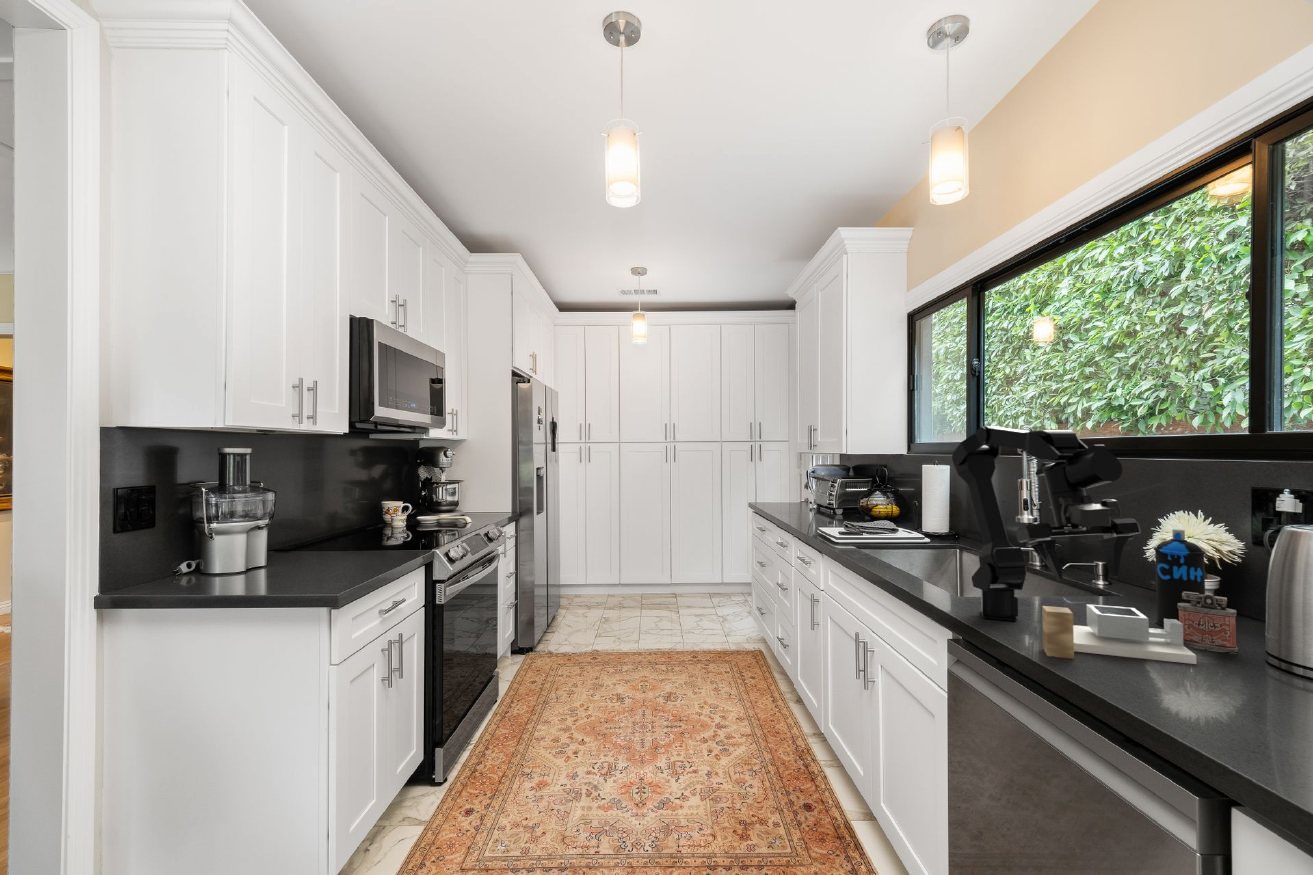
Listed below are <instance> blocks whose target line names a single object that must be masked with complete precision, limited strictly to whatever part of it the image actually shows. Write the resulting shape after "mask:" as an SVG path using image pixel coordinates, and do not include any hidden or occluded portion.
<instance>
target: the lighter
mask: <svg viewBox="0 0 1313 875" xmlns="http://www.w3.org/2000/svg"><path fill="white" fill-rule="evenodd" d="M1182 598H1183V599H1189V600H1192V601H1191V604H1188V603H1178V608H1179V622H1181V623H1182V624H1183V646H1184V647H1189V648H1194V649H1199V650H1200V649H1201V650H1205V649H1207V650H1206V651H1211V652H1212V651H1213V652H1220V653H1225V652H1230V653H1229V654H1235V653H1234V652H1239V650H1238V647H1237V633H1236V632H1237V631H1236V629H1237V628H1236V627H1237V626H1236V616H1237V610H1236V609H1232V608H1227V604H1228V598H1227V597H1226V596H1225V597H1223V596H1217V595H1215V596H1214V594H1212V593H1209V592H1205V594H1204V595H1200V594H1199V593H1192V592H1184V593H1182ZM1196 600H1197V601H1202V602H1201V603H1200V605H1198V604H1197V601H1196ZM1218 604H1219V605H1218ZM1231 652H1232V653H1231Z"/></svg>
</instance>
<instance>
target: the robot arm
mask: <svg viewBox="0 0 1313 875" xmlns="http://www.w3.org/2000/svg"><path fill="white" fill-rule="evenodd" d="M988 444H989V445H988ZM987 445H988V446H987ZM1002 447H1005V448H1010V449H1011V448H1012V449H1017V450H1023V451H1024V452H1026V454H1027V455H1029V456H1031V457H1033V458H1035V459H1037V460H1042V461H1043V460H1045V461H1051V462H1042V463H1040V464H1041V465H1040V466H1039V467H1038V469H1037V470H1036V472H1035V476H1040V477H1041V476H1044V479H1045V483H1046V489H1047V492H1048V497H1049V501H1047V506H1048V509H1049V508H1051V510H1052V514H1053V518H1054V523H1052V526H1051V525H1050V523H1049V522H1045V523H1044V522H1042V523H1028V524H1025V525H1022V526H1019V527H1018V528H1017V529H1016V533H1015V535H1016V539H1017V542H1018V543H1026V544H1025V546H1026V547H1031V548H1032V550H1034V552H1035V553H1037V555H1039V557H1040V558H1041V560H1043V562H1044V563H1045V564H1046V566H1047V567H1048V568H1049V569H1050V571H1051V572H1052V573H1053V575H1054V576H1055V578H1056V579H1057V580H1058V581H1061V580H1063V573H1062V567H1061V564H1060V561H1059V557H1058V555H1057V551H1056V546H1057V539H1052V538H1054V537H1071V536H1073V537H1074V536H1089V535H1100V536H1101V537H1103V538H1104V539H1099V544H1100V546H1101V549H1102V553H1103V554H1104V558H1105V561H1106V564H1107V565H1106V566H1107V567H1108V571H1109V574H1110V575H1111V577H1112V578H1118V577H1119V571H1120V566H1121V558H1122V554H1123V550H1124V547H1125V545H1126V544H1127V542H1128V541H1129V540H1133V539H1134V537H1135V535H1137V534H1141V533H1142V531H1141V527H1140V524H1139V523H1138V521H1136V519H1134V518H1133V517H1131V518H1128V517H1127V518H1121V517H1122V510H1121V506H1120V504H1119V501H1118V500H1116V499H1113V498H1112V499H1102V500H1101V502H1100V503H1094V501H1093V498H1092V497H1091V495H1087V494H1086V490H1085V489H1089V488H1093V487H1097V486H1098V487H1099V486H1100V485H1105V484H1108V483H1112V482H1115V481H1117V480H1119V479H1120V478H1121V476H1122V475H1123V465H1122V462H1121V461H1119V459H1118V458H1117V456H1115V455H1114V454H1113V453H1112V452H1110V451H1108V450H1107V448H1106V445H1105V444H1092V445H1091V446H1087V444H1086V443H1084V442H1083V441H1082V440H1080V439H1079V438H1078V436H1077V433H1076V432H1075V431H1074V430H1070V429H1056V430H1055V429H1045V430H1044V429H1039V430H1032V431H1031V430H1024V429H1015V428H1010V427H1009V428H1007V427H1003V426H1000V425H983V426H981V427H979V428H978V429H977V430H976V431H975V432H974V434H972V435H970V436H968V437H967V438H965V439H964V440H963V441H961V442H960V443H959V445H957V447H956V448H955V449H954V451H953V453H952V455H951V460H952V463H953V465H954V468H955V470H956V473H957V475H958V476H959V477H960V478H961V479H962V480H963V481H964V482H965V483H966V484H967V485H968V486H967V487H968V489H969V494H970V498H971V502H972V505H973V509H974V513H975V518H976V521H977V524H978V528H979V531H980V532H979V533H980V537H981V540H982V543H983V544H982V545H983V546H982V549H981V552H980V554H979V556H978V561H979V567H978V568H977V570H975V572H974V573H973V575H972V576H971V581H972V586H973V588H976V589H979V590H980V604H981V605H980V606H981V607H980V609H979V611H980V612H979V613H980V614H981V616H982V618H983V619H989V620H1001V621H1011V622H1016V621H1017V620H1018V619H1017V618H1018V617H1019V599H1018V596H1017V595H1015V593H1016V591H1017V590H1018V591H1022V590H1023V587H1024V585H1025V580H1026V576H1027V568H1026V567H1027V566H1028V565H1027V563H1026V561H1025V558H1024V553H1023V550H1022V548H1021V547H1018V546H1017V547H1015V546H1014V545H1012V544H1011V542H1009V539H1008V536H1007V535H1008V534H1007V530H1006V528H1005V525H1004V520H1003V517H1002V513H1001V510H1000V506H999V503H998V498H997V496H996V492H995V488H994V484H993V481H992V480H993V477H994V474H995V471H996V468H997V466H996V460H997V459H998V458H999V457H1000V455H1001V454H1002ZM1052 461H1056V462H1054V463H1053V462H1052Z"/></svg>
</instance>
